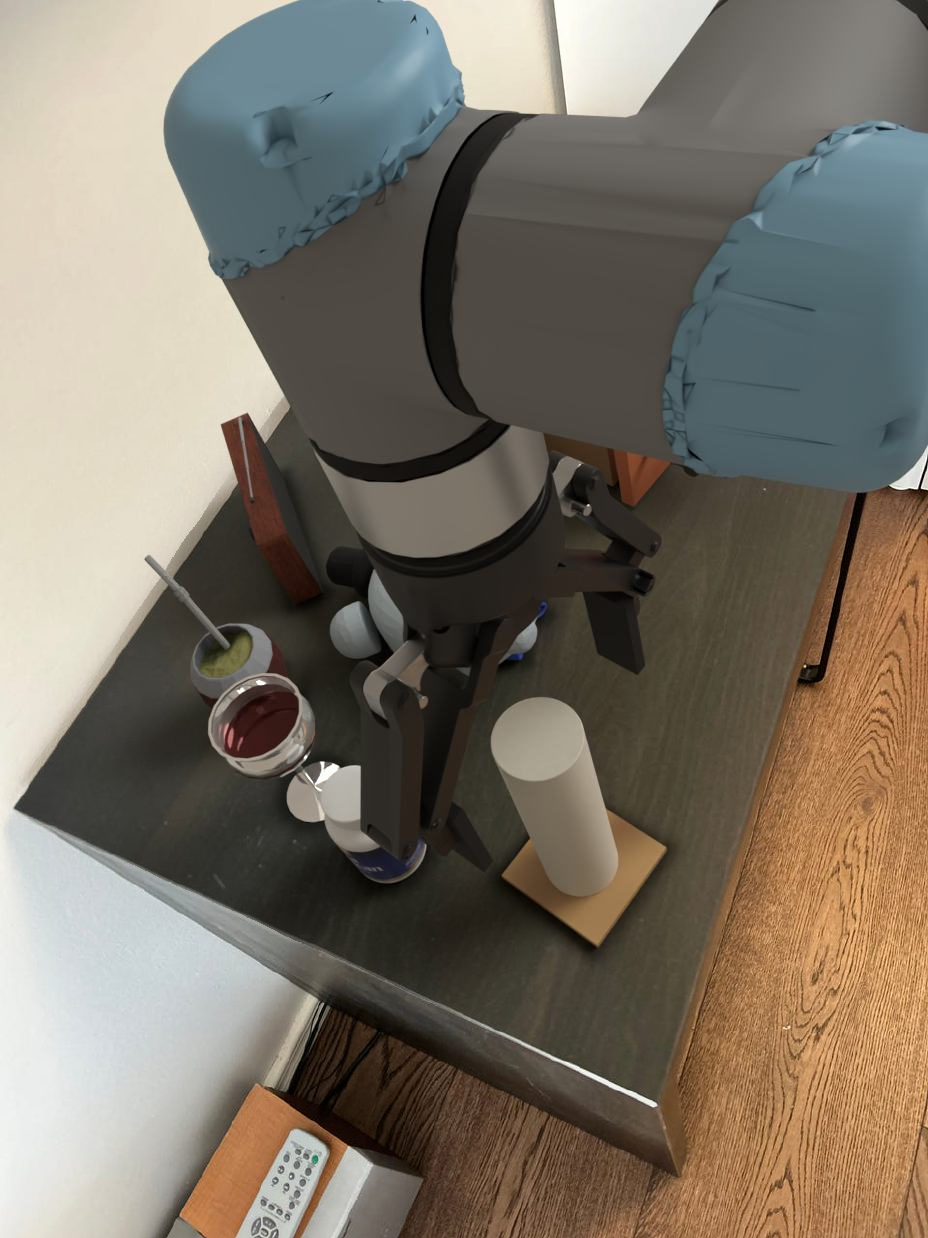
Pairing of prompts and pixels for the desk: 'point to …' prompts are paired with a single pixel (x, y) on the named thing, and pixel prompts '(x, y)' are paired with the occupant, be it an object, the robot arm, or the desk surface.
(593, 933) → the coaster
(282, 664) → the mate gourd
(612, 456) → the drawer
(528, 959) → the desk surface
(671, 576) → the desk surface
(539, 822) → the canister
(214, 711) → the wineglass
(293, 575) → the radio
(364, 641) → the figurine
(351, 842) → the pill bottle
